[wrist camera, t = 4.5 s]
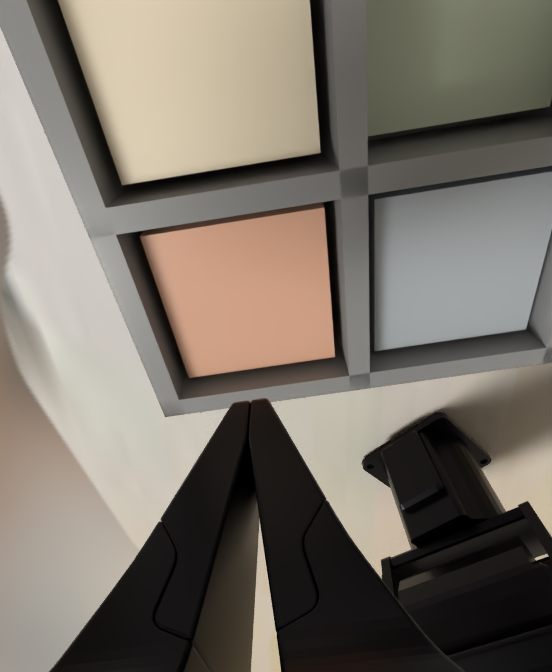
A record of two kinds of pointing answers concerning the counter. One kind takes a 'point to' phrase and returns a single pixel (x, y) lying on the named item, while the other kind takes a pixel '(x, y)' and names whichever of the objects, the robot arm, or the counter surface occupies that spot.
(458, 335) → the slate key
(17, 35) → the grey compartment tray
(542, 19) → the sage key
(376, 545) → the counter surface
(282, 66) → the sand key
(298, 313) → the terracotta key
